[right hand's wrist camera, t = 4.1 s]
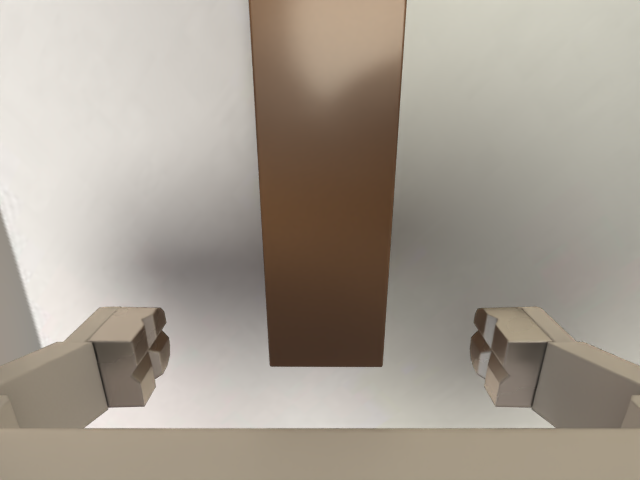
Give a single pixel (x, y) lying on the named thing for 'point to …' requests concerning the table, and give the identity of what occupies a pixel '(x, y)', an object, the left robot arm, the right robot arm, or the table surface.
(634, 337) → the table surface
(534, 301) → the table surface
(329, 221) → the beam
